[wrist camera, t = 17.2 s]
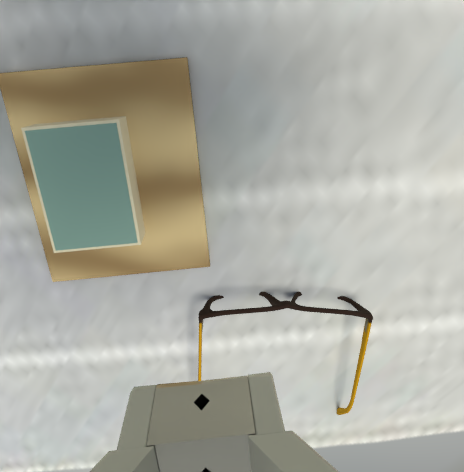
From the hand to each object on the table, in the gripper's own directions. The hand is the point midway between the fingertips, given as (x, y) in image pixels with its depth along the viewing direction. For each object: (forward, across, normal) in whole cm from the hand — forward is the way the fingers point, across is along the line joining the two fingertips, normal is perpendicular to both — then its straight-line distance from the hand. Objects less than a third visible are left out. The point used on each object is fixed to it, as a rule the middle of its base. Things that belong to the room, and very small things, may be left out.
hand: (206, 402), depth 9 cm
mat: (+24, +7, 0) cm, 25 cm away
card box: (+22, +5, 0) cm, 23 cm away
